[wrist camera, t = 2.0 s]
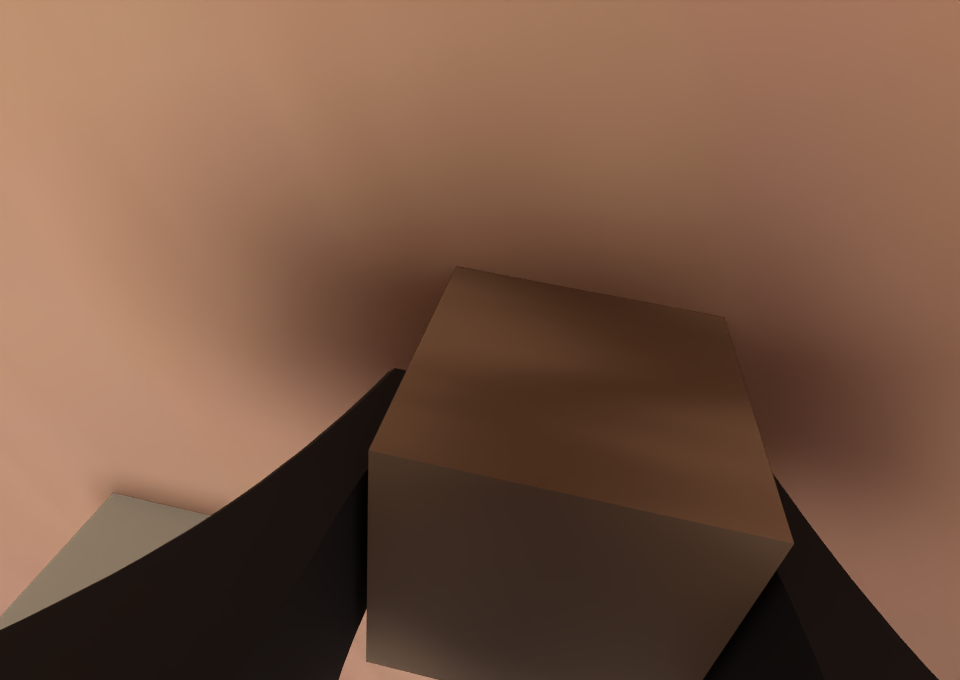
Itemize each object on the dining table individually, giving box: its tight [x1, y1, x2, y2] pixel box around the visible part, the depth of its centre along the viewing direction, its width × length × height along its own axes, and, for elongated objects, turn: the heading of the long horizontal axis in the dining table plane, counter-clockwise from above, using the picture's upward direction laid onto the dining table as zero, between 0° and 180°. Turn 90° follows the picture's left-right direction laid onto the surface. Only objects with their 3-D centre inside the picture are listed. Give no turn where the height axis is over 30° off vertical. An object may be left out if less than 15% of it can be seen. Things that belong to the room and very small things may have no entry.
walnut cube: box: [366, 266, 794, 680], centre depth 9 cm, size 4×4×4 cm
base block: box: [0, 493, 210, 630], centre depth 15 cm, size 6×6×4 cm
